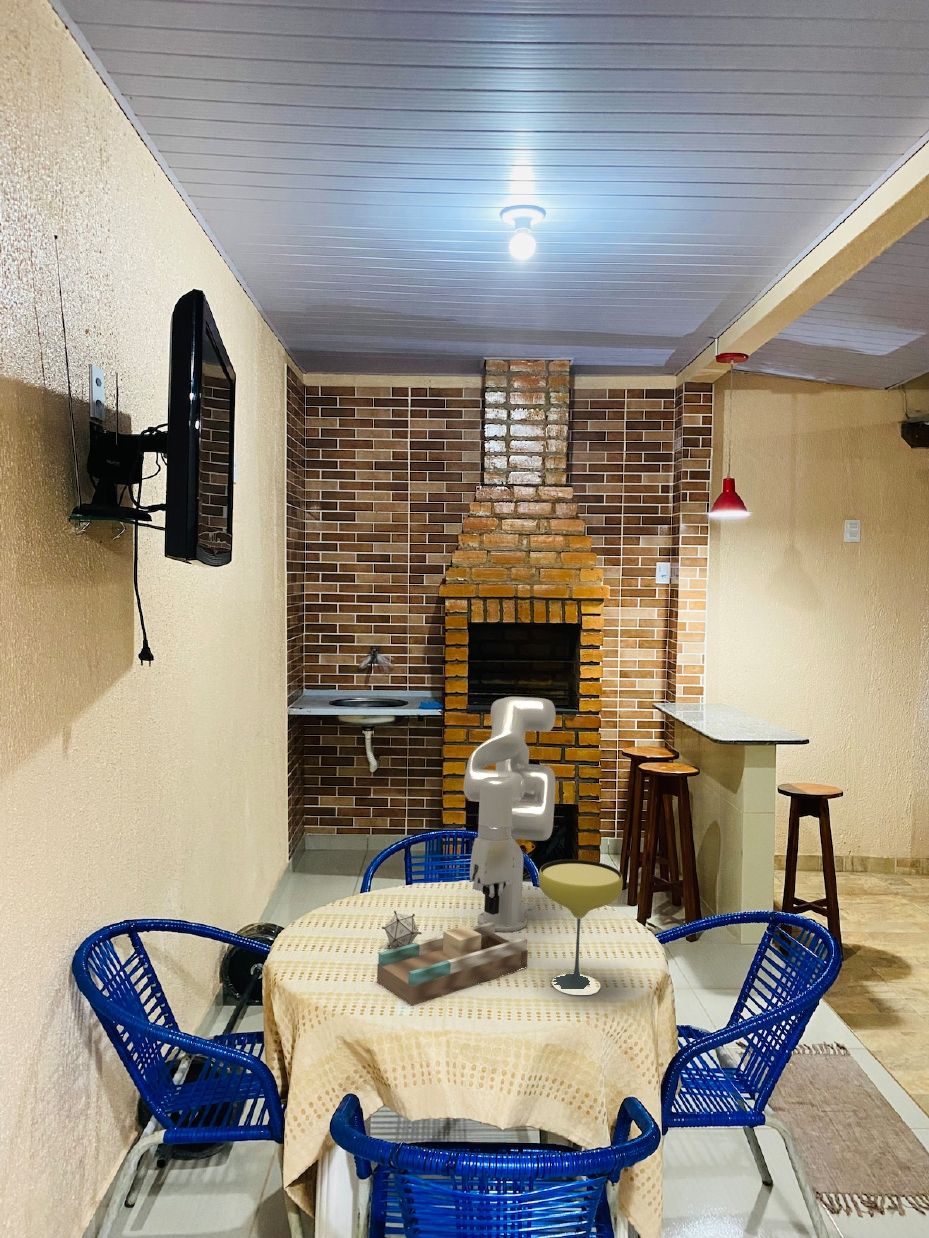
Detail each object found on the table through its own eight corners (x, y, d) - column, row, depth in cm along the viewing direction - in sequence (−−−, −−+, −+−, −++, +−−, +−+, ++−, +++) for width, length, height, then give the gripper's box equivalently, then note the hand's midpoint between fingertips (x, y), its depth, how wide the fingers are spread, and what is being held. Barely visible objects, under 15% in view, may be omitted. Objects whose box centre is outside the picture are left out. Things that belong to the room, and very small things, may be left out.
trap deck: (490, 948, 218) (491, 921, 217) (527, 967, 208) (528, 939, 207) (376, 982, 198) (377, 952, 197) (411, 1005, 188) (412, 974, 187)
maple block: (463, 947, 208) (464, 925, 208) (480, 956, 203) (481, 934, 203) (442, 953, 204) (443, 931, 204) (459, 962, 200) (460, 940, 199)
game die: (407, 960, 218) (434, 926, 219) (394, 960, 211) (422, 925, 211) (382, 934, 222) (407, 901, 223) (368, 934, 214) (395, 899, 215)
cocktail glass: (532, 965, 209) (537, 857, 208) (612, 969, 209) (617, 860, 207) (536, 1002, 191) (541, 884, 190) (623, 1006, 191) (628, 888, 189)
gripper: (508, 824, 215) (505, 902, 216) (458, 832, 206) (455, 913, 206) (530, 831, 209) (527, 911, 210) (480, 840, 200) (476, 923, 200)
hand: (491, 912), depth 208 cm, fingers closed
